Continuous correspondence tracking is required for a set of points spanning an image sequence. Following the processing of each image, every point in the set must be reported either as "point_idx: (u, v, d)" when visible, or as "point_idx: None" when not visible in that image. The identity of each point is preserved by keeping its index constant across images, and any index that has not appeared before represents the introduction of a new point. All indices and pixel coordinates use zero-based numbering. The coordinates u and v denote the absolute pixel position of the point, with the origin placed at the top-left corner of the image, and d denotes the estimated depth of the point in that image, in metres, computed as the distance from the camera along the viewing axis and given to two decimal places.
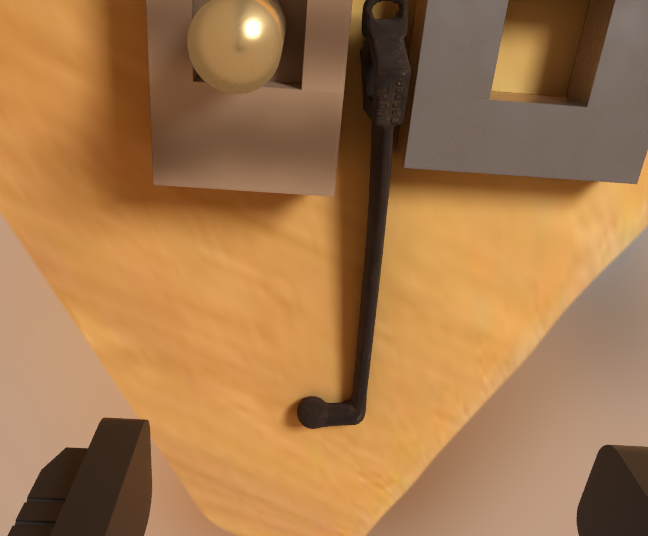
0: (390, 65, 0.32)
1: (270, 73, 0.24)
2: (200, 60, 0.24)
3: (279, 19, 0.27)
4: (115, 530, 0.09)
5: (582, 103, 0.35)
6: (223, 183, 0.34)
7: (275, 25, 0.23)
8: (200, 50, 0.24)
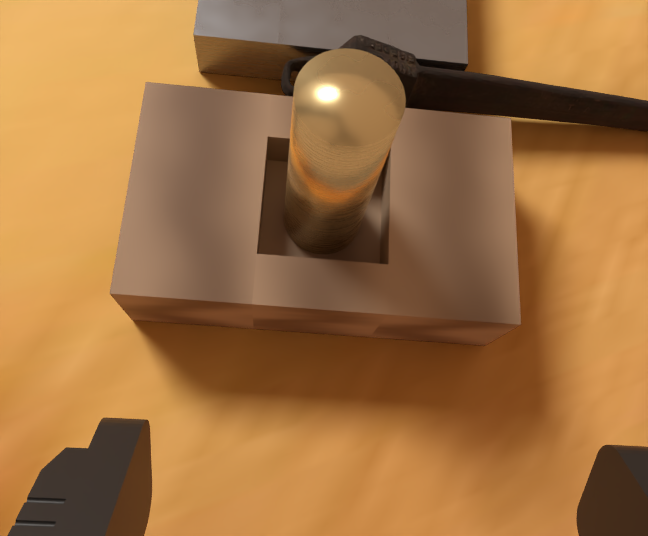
0: None
1: (379, 62, 0.20)
2: (368, 133, 0.19)
3: None
4: (115, 530, 0.09)
5: None
6: (509, 239, 0.27)
7: (325, 52, 0.20)
8: (356, 131, 0.19)
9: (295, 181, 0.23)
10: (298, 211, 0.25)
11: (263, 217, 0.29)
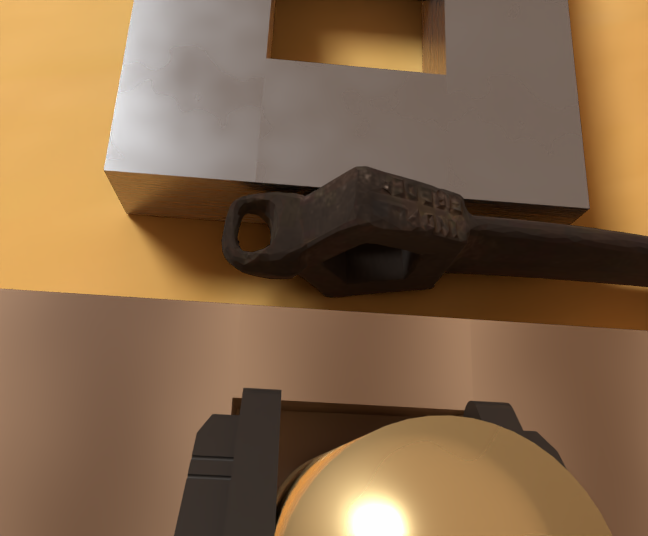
0: (352, 200, 0.16)
1: (535, 457, 0.07)
2: None
3: None
4: None
5: None
6: None
7: (370, 438, 0.06)
8: None
9: None
10: None
11: None
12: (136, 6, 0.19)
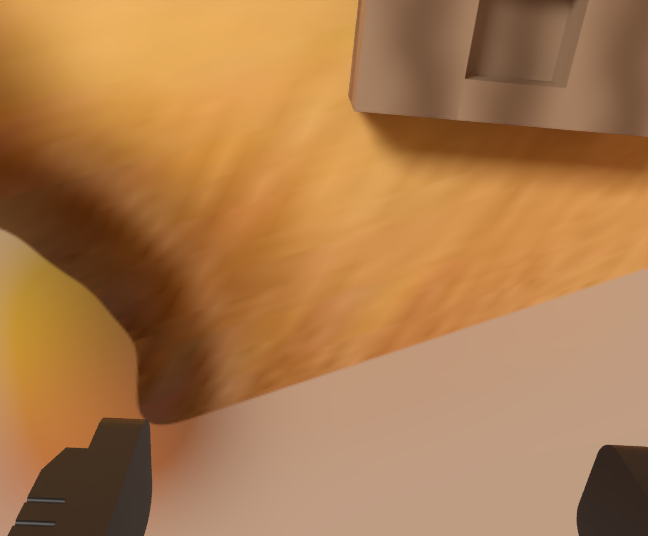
0: None
1: None
2: None
3: None
4: (115, 530, 0.09)
5: None
6: None
7: None
8: None
9: None
10: None
11: None
12: None
